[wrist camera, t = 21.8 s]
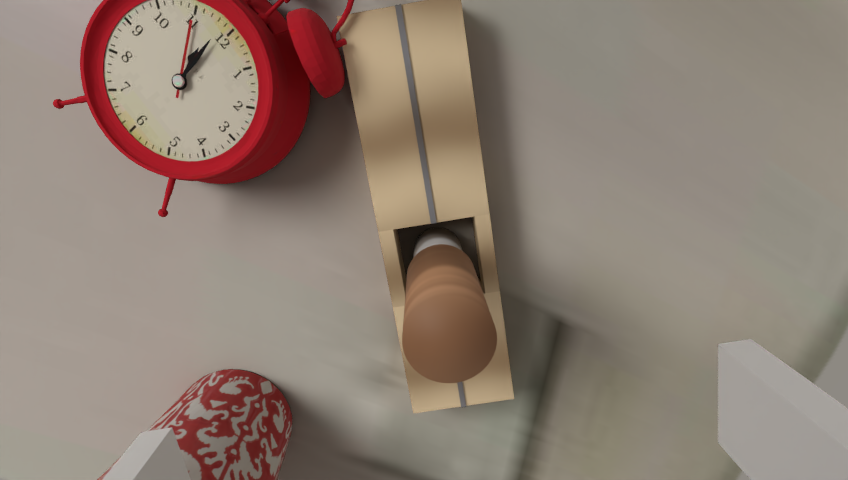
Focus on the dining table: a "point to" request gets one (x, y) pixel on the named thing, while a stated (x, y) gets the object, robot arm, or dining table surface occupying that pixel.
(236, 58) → the alarm clock
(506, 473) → the dining table surface
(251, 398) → the mug
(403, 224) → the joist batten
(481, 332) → the wooden tool handle
